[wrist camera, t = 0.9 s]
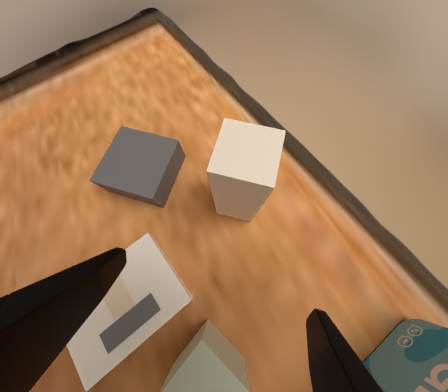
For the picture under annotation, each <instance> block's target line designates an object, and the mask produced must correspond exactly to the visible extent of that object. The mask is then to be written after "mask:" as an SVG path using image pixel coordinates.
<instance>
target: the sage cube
mask: <svg viewBox="0 0 448 392" xmlns="http://www.w3.org/2000/svg"><path fill="white" fill-rule="evenodd" d="M160 392H250V391H249V385H248V379H247V373H246V367H245V361H244V356H243V355H242V354H241V353H240V352H239V351H238V350H237V349H236V348H235V347H234V346H233V345H232V344H231V343H230V342H229V341H228V339H227V338H226V337H225V336H224V335H223V334H222V333H221V332H220V331H219V330H218V329H217V328H216V327H215V326H214V325H213V324H212V322H211V321H210V320H209V319H207V321H206V322H205V323H204V324H203V326H202V327H201V328H200V330H199V331H198V332H197V333H196V335H195V336H194V337H193V338H192V340H191V341H190V342H189V344H188V345H187V346H186V347H185V349H184V350H183V351H182V353H181V354H180V355H179V356H178V358H177V359H176V360H175V362H174V364H173V366H172V368H171V370H170V372H169V374H168V376H167V378H166V380H165V382H164V384H163V386H162V388H161V390H160Z"/></svg>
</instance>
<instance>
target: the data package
mask: <svg viewBox="0 0 448 392" xmlns="http://www.w3.org/2000/svg"><path fill="white" fill-rule="evenodd" d="M363 364H364V366H365V367H366V368H367V370H368V371H369V373H370V374H371V375H372V377H373V378H374V379H375V381H376V382H377V384H378V385H379V386H380V388H381V389H382V390H383V392H448V328H445V327H442V326H439V325H436V324H433V323H430V322H427V321H424V320H420V319H410V320H406V321H404V322H402V323H400V324H399V325H398V326H397V327H396V328H395V329H394V330H393V331H392V333H391V334H390V335H389V336H388V337H387V338H386V339H385V340H384V341H383V342H382V343H381V344H380V345H379V346H378V348H377V349H376V350H375V351H374V352H373V353H372V354H371V355H370V356H369V357H368V358H367V359H366V360H365V361H364V363H363Z"/></svg>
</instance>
